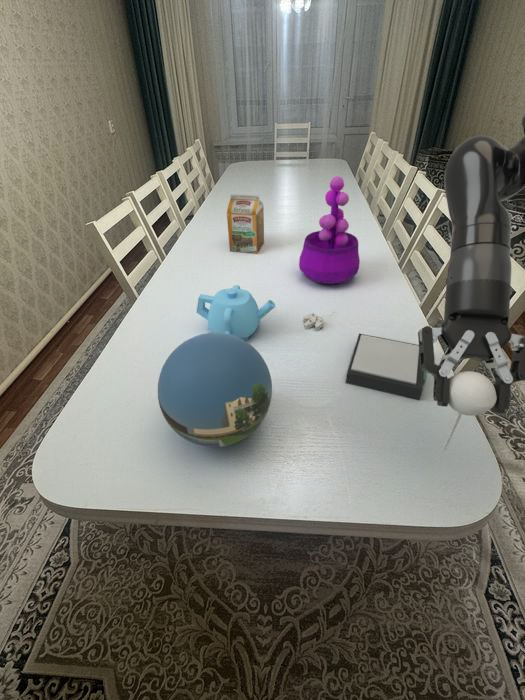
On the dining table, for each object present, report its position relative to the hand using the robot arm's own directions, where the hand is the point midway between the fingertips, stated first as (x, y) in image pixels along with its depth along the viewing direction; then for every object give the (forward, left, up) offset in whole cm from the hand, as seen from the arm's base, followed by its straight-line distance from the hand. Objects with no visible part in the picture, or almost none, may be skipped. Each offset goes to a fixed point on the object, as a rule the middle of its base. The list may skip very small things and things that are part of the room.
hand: (469, 409), depth 47 cm
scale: (+10, -27, -18) cm, 34 cm away
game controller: (+28, -41, -18) cm, 53 cm away
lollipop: (0, -2, -11) cm, 11 cm away
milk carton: (+67, -80, -18) cm, 106 cm away
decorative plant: (+33, -66, -18) cm, 76 cm away
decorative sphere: (+38, +1, -18) cm, 42 cm away
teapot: (+48, -29, -18) cm, 59 cm away
